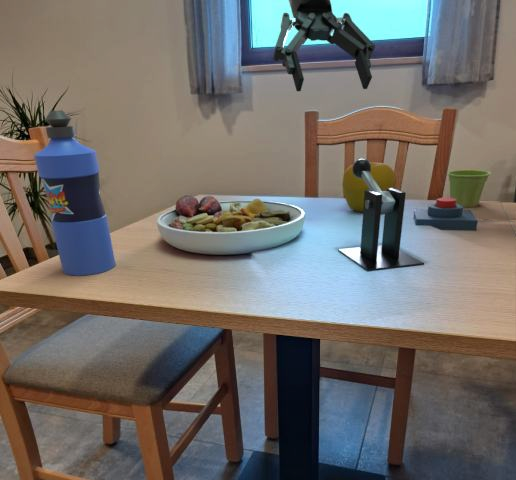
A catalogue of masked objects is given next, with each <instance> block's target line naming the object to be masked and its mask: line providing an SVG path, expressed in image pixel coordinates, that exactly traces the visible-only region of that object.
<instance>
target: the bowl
mask: <svg viewBox="0 0 516 480" xmlns="http://www.w3.org/2000/svg"><path fill="white" fill-rule="evenodd" d="M174 207H175V208H174V209H170V210H167V211H165V212H163V213H162V214H160V215H159V216H158V217H157V218H156V226H157V230H158V232H159V234H160V236H161V238H162V239H163V240H164V241H165V242H166V243H168V244H169V245H170V246H172V247H174V248H176V249H179V250H182V251H185V252H187V253H188V252H189V253H193V254H200V255H201V254H203V255H213V256H228V255H229V256H230V255H231V256H232V255H244V254H245V255H246V254H251V253H252V252H256V251H262V250H263V251H264V250H267V249H268V250H269V249H273V248H276V247H279V246H282V245H285V244H287V243H289V242H291V241H293V240H294V239H295V238H297V236H298V235H299V234H300V233H301V231H302V230H303V227H304V225H305V221H306V219H305V217H306V215H305V214H306V213H305V211H304V209H302V208H301V207H299V206H296V205H293V204H290V203H285V202H278V201H269V200H261V199H260V198H255V199H252V200H223V201H219V200H217V198H216V197H215V196H213V195H205V196H204V197H202V198H201V199H200V200H198V198H197V197H196V196H193V195H189V194H185V195H183V196H182V197H180V198H179V199H178V200H176V202H175V206H174Z"/></svg>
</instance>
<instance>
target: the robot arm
mask: <svg viewBox="0 0 516 480" xmlns="http://www.w3.org/2000/svg"><path fill="white" fill-rule="evenodd" d="M288 3H289V6H290V8H291V14H292V17H291V16H290V14H289V13H288V12H284V13H283V14H282V17H281V22H280V31H279V35H278V37H277V41H276V43H275V47H274V52H273V55H272V56H273V57H272V59H273V61H275V62H279V61H280V60H281V61H282V63H281V65H282V67H283V68H285V70H286V73H287V75H291V76H292V79H293V84H294V87H295V89H296V92H301V91H302V89H303V88H302V87H303V84H304V81H305V77H304V74H303V71H302V67H301V64H300V60H299V56H298V51H299V50H300V49H301V47H302V45H304V44H306V42H307V40H310V42H311V41H312V42H315V41H321V42H322V41H327V43H329V44H331V45H335V46H337V47H338V48H340V49H341V50H343V51H344V52H346V53H347V54H348V55H349V56H351V57H352V58H353V59H354V60H355V61H354V65H355V69H356V71H357V75H358V77H359V80H360V84H361V86H362V89H363V90H368V88H369V85H370V84H371V81H372V79H373V75H372V72H371V67H372V62H371V58H372V56H373V53H374V51H375V49H376V45H375V44H374V43H373V41H371V39H370V38H369V37H368V36H367V35H366V34H365V33H364V32H363V30H361V29H360V28H359V27H358V25H356V23H355V22H354V21H353V20H352V17H351V15H350V14H349V13H347V12H344V13H343V14H342V16H341V17H337V16H336V15H335V14H334V12H333V8H332V3H331V0H288ZM293 27H294V29H295V30H297V31H298V32H296V34H295V35H294V36H293V38H292V39H291V40H290V42H289V43H288V45H287V46H286V47H285V43H286V41H287V38H288V33H290V32H291V30H292V29H293ZM284 47H285V48H284Z"/></svg>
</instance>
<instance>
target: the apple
mask: <svg viewBox="0 0 516 480" xmlns="http://www.w3.org/2000/svg"><path fill="white" fill-rule="evenodd" d="M369 163H370V165H371V171H370V174H371V176H372V177H373V179H374V180H375V182H376V183H377V185H378V186H379V188H380V189H381V191H382V192H383V191H387V189H389V188H393V189H396V188H395V187H396V185H397V176H396V172H395V171H394V169H393V167H391V166H390V165H389V164H387V163H384V162H374V161H373V162H372V161H371V162H370V161H369ZM353 165H354V163H352V164H350V165H349V166H348V167H347V168H346V170H345V171H344V173H343V175H342V185H341V186H342V193H343V196H344V198H345V201H346V203H347V205H348V207H349V208H350V210H352V211H354V212H358V213H363V207H364V193H365V190H370V189H369V188H368V186H367V185H366V183H365V181H364V180H363V178H357V177H356V176H354V174H353V171H352V167H353Z"/></svg>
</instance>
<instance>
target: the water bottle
mask: <svg viewBox="0 0 516 480" xmlns="http://www.w3.org/2000/svg"><path fill="white" fill-rule="evenodd" d="M44 120H45V121H46V123H47V124H49V125H50V126H46V127H45V133H46V136H47V139H50V140H49V141H48V143H47V145H46V146H44V147H43V148H42V149H40V150H39V151H37V152H35V153H34V154H33V157H34V161H35V166H36V170H37V173H38V177H39V178H40V180H41V183H42V186H43V188H44V191H45V195H46V197H47V200H48V202H49V204H48V205H49V212H50V222H51V228H52V231H53V236H54V240H55V244H56V249H57V253H58V257H59V261H60V265H61V269H62V273H64V274H65V275H68V276H80V277H81V276H90V275H91V276H92V275H96V274H101V273H105V272H107V271H110V270H112V269H114V268H115V267H116V259H115V254H114V248H113V243H112V242H113V241H112V238H111V237H112V236H111V231H110V227H109V221H108V216H107V214H106V209H105V207H104V205H103V201H102V197H101V188H100V187H101V186H100V166H99V161H98V156H97V151H96V150H95V149H93V148H90V147H88V146H86V145H83V144H81V143H80V142H79V141H78V140H77V139H76V138H75V137H77V134H76V129H75V125H69V124H70V123H71V121H72V117H71V116H70V115H68V113H66V112H65V111H64V110H50V111H49V112H48V114H47V116H46V117H45V118H44Z"/></svg>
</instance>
